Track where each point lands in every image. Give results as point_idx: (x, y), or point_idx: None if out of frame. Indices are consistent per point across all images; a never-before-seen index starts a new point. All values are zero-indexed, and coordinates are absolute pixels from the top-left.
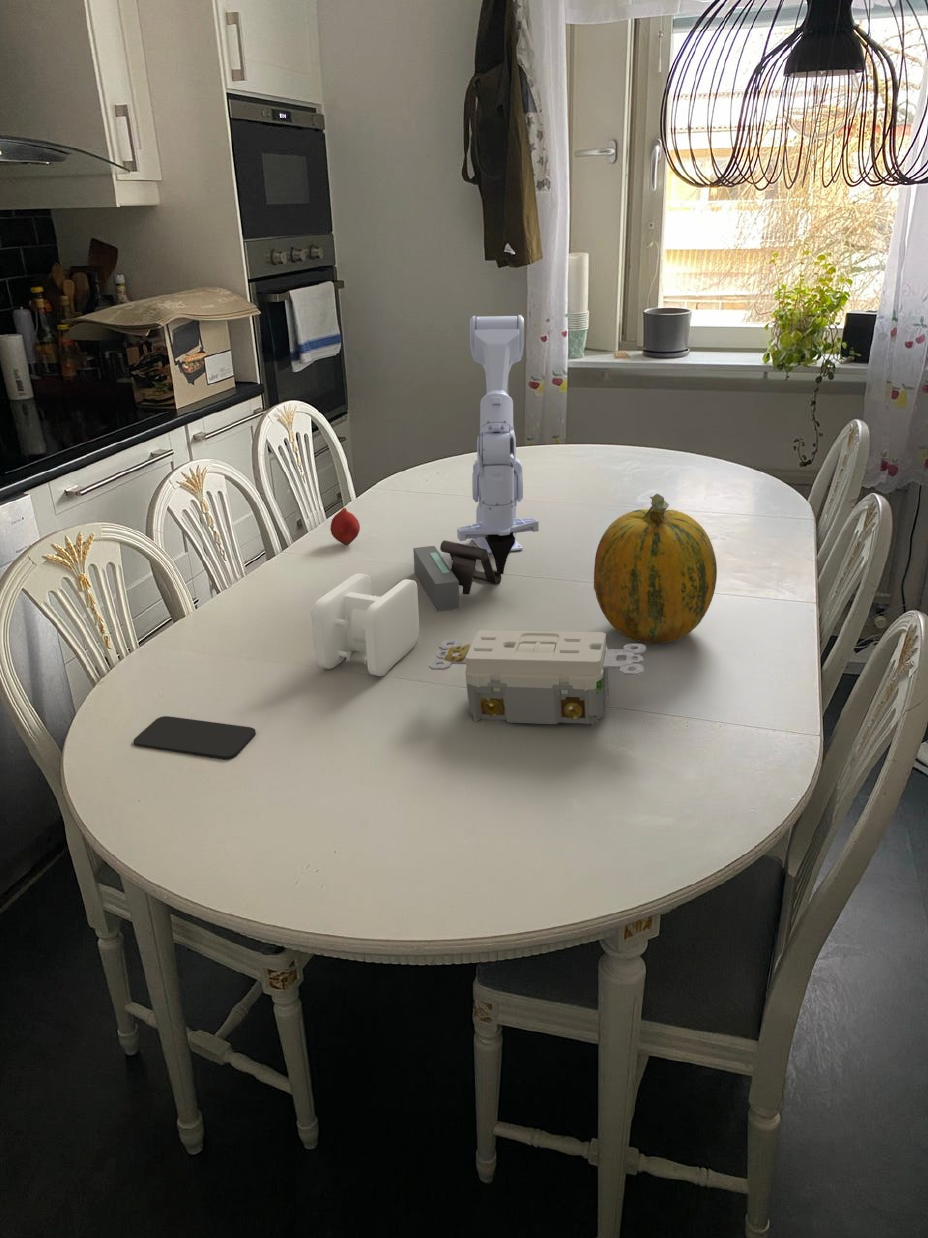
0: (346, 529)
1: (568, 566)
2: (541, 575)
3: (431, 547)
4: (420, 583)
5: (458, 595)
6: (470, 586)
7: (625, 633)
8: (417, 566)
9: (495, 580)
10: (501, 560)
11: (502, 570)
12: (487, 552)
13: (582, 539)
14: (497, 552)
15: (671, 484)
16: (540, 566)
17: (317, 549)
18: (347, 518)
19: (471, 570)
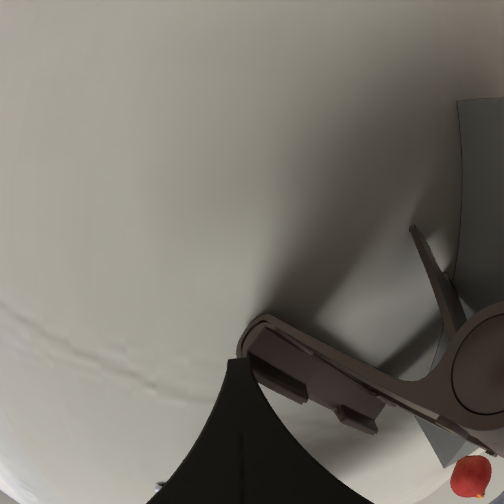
0: (483, 468)
1: (25, 392)
2: (76, 366)
3: (458, 457)
4: None
5: (498, 98)
6: (422, 244)
7: None
8: None
9: (276, 319)
10: (246, 416)
11: (235, 369)
12: (450, 418)
13: (49, 469)
14: (295, 465)
15: (21, 496)
16: (93, 419)
17: None
18: (482, 484)
19: (451, 312)
